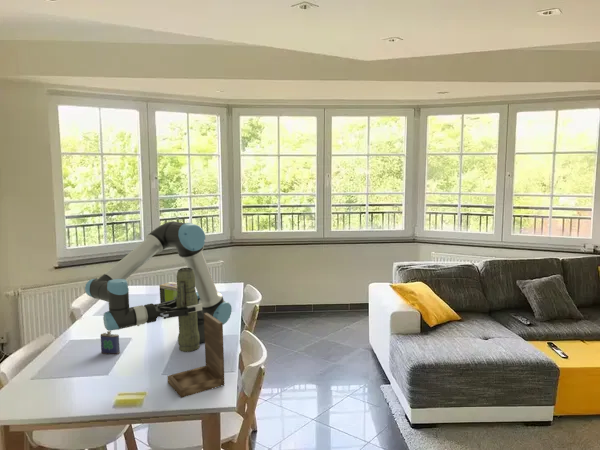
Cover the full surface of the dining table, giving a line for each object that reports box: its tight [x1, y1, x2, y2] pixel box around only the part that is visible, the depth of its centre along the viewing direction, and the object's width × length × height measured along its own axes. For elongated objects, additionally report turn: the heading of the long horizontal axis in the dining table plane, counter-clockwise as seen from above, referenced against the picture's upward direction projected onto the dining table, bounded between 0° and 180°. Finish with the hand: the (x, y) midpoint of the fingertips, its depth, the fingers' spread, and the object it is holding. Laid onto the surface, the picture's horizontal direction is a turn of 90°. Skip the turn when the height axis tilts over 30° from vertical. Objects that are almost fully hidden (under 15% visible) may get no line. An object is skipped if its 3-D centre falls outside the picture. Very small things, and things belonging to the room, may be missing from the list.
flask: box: [100, 330, 121, 355], centre depth 224 cm, size 9×3×11 cm, turn 78°
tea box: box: [159, 281, 178, 308], centre depth 289 cm, size 15×10×15 cm, turn 58°
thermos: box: [176, 267, 200, 353], centre depth 206 cm, size 9×12×35 cm
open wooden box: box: [167, 313, 226, 399], centre depth 192 cm, size 18×15×26 cm
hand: (197, 303), depth 208 cm, fingers closed on thermos, 9 cm apart
